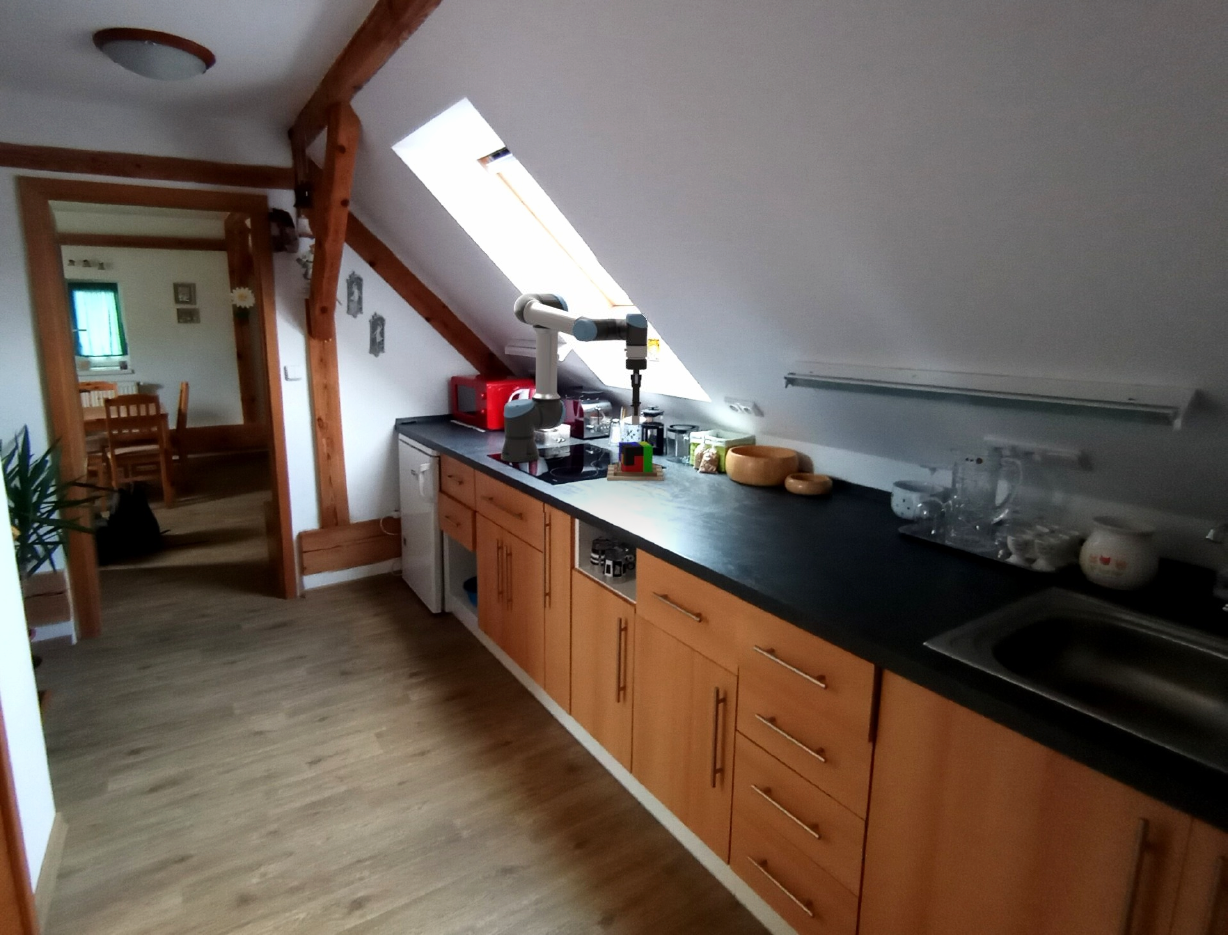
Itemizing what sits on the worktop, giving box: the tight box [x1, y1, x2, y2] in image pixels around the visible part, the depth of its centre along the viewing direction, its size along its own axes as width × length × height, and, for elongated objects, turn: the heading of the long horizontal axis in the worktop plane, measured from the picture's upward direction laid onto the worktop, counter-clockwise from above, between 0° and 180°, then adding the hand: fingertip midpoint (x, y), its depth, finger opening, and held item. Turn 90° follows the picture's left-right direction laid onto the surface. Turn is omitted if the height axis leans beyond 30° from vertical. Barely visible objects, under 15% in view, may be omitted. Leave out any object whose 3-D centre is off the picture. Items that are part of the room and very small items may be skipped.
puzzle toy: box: [618, 441, 654, 472], centre depth 254 cm, size 10×10×10 cm
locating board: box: [606, 462, 665, 482], centre depth 255 cm, size 20×20×2 cm
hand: (635, 423), depth 251 cm, fingers open, 4 cm apart
